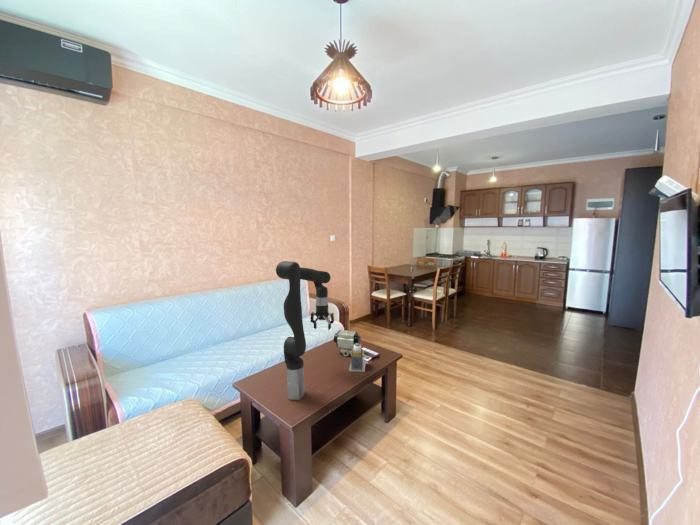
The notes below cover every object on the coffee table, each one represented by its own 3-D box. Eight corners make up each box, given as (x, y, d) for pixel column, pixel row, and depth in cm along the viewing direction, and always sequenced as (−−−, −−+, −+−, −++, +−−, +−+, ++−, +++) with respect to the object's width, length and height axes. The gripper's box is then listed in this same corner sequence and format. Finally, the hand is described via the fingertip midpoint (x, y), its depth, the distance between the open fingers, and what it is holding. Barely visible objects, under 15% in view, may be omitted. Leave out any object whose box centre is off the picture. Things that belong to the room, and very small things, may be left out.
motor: (364, 372, 187) (364, 354, 185) (348, 371, 188) (348, 353, 186) (365, 362, 199) (365, 345, 197) (351, 361, 200) (350, 345, 198)
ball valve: (333, 355, 210) (332, 331, 207) (337, 350, 218) (336, 327, 215) (357, 358, 205) (357, 334, 202) (360, 353, 213) (360, 329, 210)
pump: (360, 355, 190) (360, 345, 188) (353, 355, 190) (353, 345, 189) (361, 352, 194) (361, 342, 193) (354, 352, 195) (353, 342, 194)
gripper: (309, 304, 178) (309, 330, 180) (332, 305, 176) (332, 331, 178) (312, 301, 185) (312, 326, 187) (334, 302, 183) (334, 327, 185)
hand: (322, 329), depth 183 cm, fingers open, 8 cm apart
